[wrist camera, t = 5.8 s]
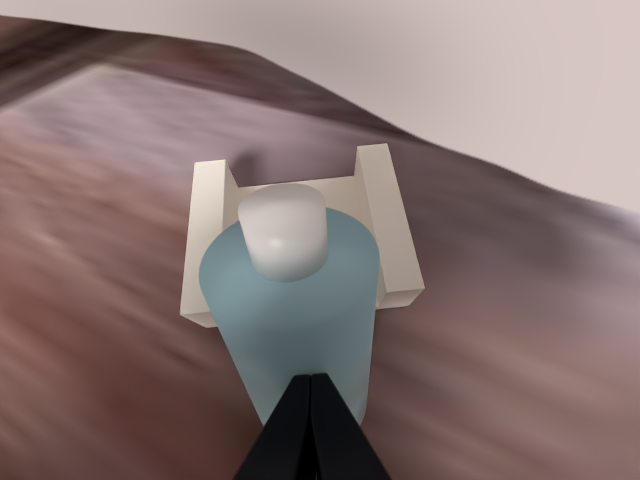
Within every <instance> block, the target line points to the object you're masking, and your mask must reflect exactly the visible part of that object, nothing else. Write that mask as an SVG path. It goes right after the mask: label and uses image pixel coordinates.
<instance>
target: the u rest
mask: <svg viewBox="0 0 640 480" xmlns="http://www.w3.org/2000/svg"><path fill="white" fill-rule="evenodd" d="M289 183H298V184H304V185H308V186H311V187H313V188H315V189H317V190H318V191H320V192H321V193H322V195H323V196H324V198H325V202H326V207H327V208H331V209H335V210H338V211H341V212H343V213H346V214H348V215H350V216H352V217H353V218H355V219H356V220H358V221H359V222H361V223H362V224H363V225H364V226H365V227H366V228H367V229H368V230H369V231H370V232H371V234H372V235H373V237H374V238H375V240H376V243H377V245H378V249H379V254H380V264H379V275H378V286H377V297H376V309H385V308H394V307H403V306H409V305H410V304H411V303H412V302H413V301H414V300H415V299H416V297H417V296H418V295H419V294H420V293H421V292H422V291H423V290H424V289H425V286H424V283H423V279H422V275H421V271H420V267H419V263H418V260H417V256H416V252H415V248H414V244H413V240H412V236H411V233H410V229H409V225H408V221H407V217H406V213H405V210H404V206H403V202H402V198H401V194H400V190H399V187H398V183H397V179H396V175H395V171H394V167H393V164H392V160H391V156H390V152H389V148H388V144H387V143H385V144H375V145H365V146H357V154H356V163H355V172H354V176H347V177H338V178H328V179H318V180H308V181H298V182H289ZM279 184H282V183H279ZM270 185H275V184H269V185H259V186H250V187H240V188H238V186H237V184H236V182H235V180H234V177H233V175H232V173H231V171H230V169H229V166H228V164H227V162H226V160H216V161H206V162H197V163H195V167H194V177H193V187H192V197H191V207H190V217H189V227H188V237H187V247H186V257H185V267H184V277H183V287H182V297H181V307H180V315H181V316H183V317H185V318H187V319H189V320H191V321H193V322H195V323H197V324H199V325H201V326H203V327H205V328H210V327H218V326H217V324H216V322H215V320H214V318H213V315H212V313H211V311H210V309H209V307H208V305H207V302H206V300H205V298H204V296H203V294H202V291H201V288H200V285H199V267H200V264H201V260H202V258H203V256H204V254H205V252H206V250H207V249H208V247H209V246H210V244H211V243H212V242H213V241H214V239H215V238H216V237H217V236H218V235H220V234H221V233H222V232H223V231H224V230H225V229H227V228H228V227H229V226H231V225H232V224H234V223H236V222H237V221H239V216H238V207H239V205H240V203H241V202H242V201H243V199H244V198H246V197H247V196H248V195H249V194H251V193H252V192H254V191H256V190H258V189H261V188H263V187H267V186H270ZM376 309H375V310H376Z"/></svg>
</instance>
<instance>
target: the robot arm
mask: <svg viewBox="0 0 640 480" xmlns="http://www.w3.org/2000/svg"><path fill="white" fill-rule="evenodd" d="M316 473H317V480H392V478H391V477H390V475H389V473H388V472H387V470H386V468H385V467H384V465H383V463H382V462H381V460H380V459H379V457H378V455H377V454H376V452H375V450H374V449H373V447H372V445H371V444H370V442H369V440H368V439H367V437H366V435H365V434H364V432H363V431H362V429H361V427H360V426H359V424H358V422H357V421H356V419H355V417H354V416H353V414H352V412H351V411H350V409H349V407H348V406H347V404H346V403H345V401H344V399H343V398H342V396H341V394H340V393H339V391H338V389H337V388H336V386H335V384H334V383H333V381H332V379H331V378H330V376H329V375H328V374H327V373H314V374H312V375H311V376H310V375H309V374H302V375H295V376H293V378H292V379H291V381H290V382H289V384H288V386H287V388H286V389H285V391H284V393H283V394H282V396H281V398H280V399H279V401H278V403H277V405H276V406H275V408H274V410H273V411H272V413H271V415H270V416H269V418H268V420H267V422H266V423H265V425H264V427H263V428H262V430H261V432H260V433H259V435H258V437H257V439H256V440H255V442H254V444H253V445H252V447H251V449H250V450H249V452H248V454H247V455H246V457H245V459H244V461H243V462H242V464H241V466H240V467H239V469H238V471H237V472H236V474H235V476H234V478H233V479H232V480H316Z"/></svg>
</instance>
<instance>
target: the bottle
mask: <svg viewBox="0 0 640 480" xmlns="http://www.w3.org/2000/svg"><path fill="white" fill-rule="evenodd" d="M238 216H239V221H237V222H236V223H234V224H232V225H231V226H229V227H228V228H227V229H225V230H224V231H223V232H222V233H221V234H220V235H218V236H217V237H216V238H215V239H214V241H213V242H212V243H211V244H210V246H209V247H208V249H207V250H206V252H205V254H204V256H203V258H202V260H201V264H200V267H199V285H200V288H201V291H202V294H203V296H204V298H205V300H206V302H207V305H208V307H209V309H210V311H211V313H212V315H213V318H214V320H215V322H216V324H217V326H218V329H219V331H220V333H221V335H222V337H223V340H224V342H225V344H226V346H227V348H228V350H229V353H230V355H231V357H232V359H233V361H234V364H235V366H236V368H237V370H238V372H239V375H240V377H241V379H242V381H243V383H244V386H245V388H246V390H247V392H248V394H249V396H250V399H251V401H252V403H253V405H254V407H255V410H256V412H257V414H258V416H259V418H260V421H261V423H262V425H263V427H264V425H265V423H266V422H267V420H268V418H269V416H270V415H271V413H272V411H273V410H274V408H275V406H276V405H277V403H278V401H279V399H280V398H281V396H282V394H283V393H284V391H285V389H286V388H287V386H288V384H289V382H290V381H291V379H292V378H293V376H295V375H302V374H309V375H310V376H311V375H312V374H314V373H327V374H328V375H329V376H330V378H331V379H332V381H333V383H334V384H335V386H336V388H337V389H338V391H339V393H340V394H341V396H342V398H343V399H344V401H345V403H346V404H347V406H348V407H349V409H350V411H351V412H352V414H353V416H354V417H355V419H356V421H357V422H358V424H359V426H361V423H362V421H363V419H364V416H365V412H366V407H367V398H368V387H369V376H370V364H371V353H372V342H373V331H374V320H375V309H376V297H377V286H378V275H379V264H380V254H379V249H378V245H377V243H376V240H375V238H374V237H373V235H372V234H371V232H370V231H369V230H368V229H367V228H366V227H365V226H364V225H363V224H362V223H361V222H359V221H358V220H356V219H355V218H353V217H352V216H350V215H348V214H346V213H343V212H341V211H338V210H335V209H331V208H327V207H326V202H325V198H324V196H323V195H322V193H321V192H320V191H318V190H317V189H315V188H313V187H311V186H308V185H304V184H298V183H282V184H275V185H270V186H267V187H263V188H261V189H258V190H256V191H254V192H252V193H251V194H249V195H248V196H247V197H246V198H244V199H243V201H242V202H241V203H240V205H239V207H238Z"/></svg>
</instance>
